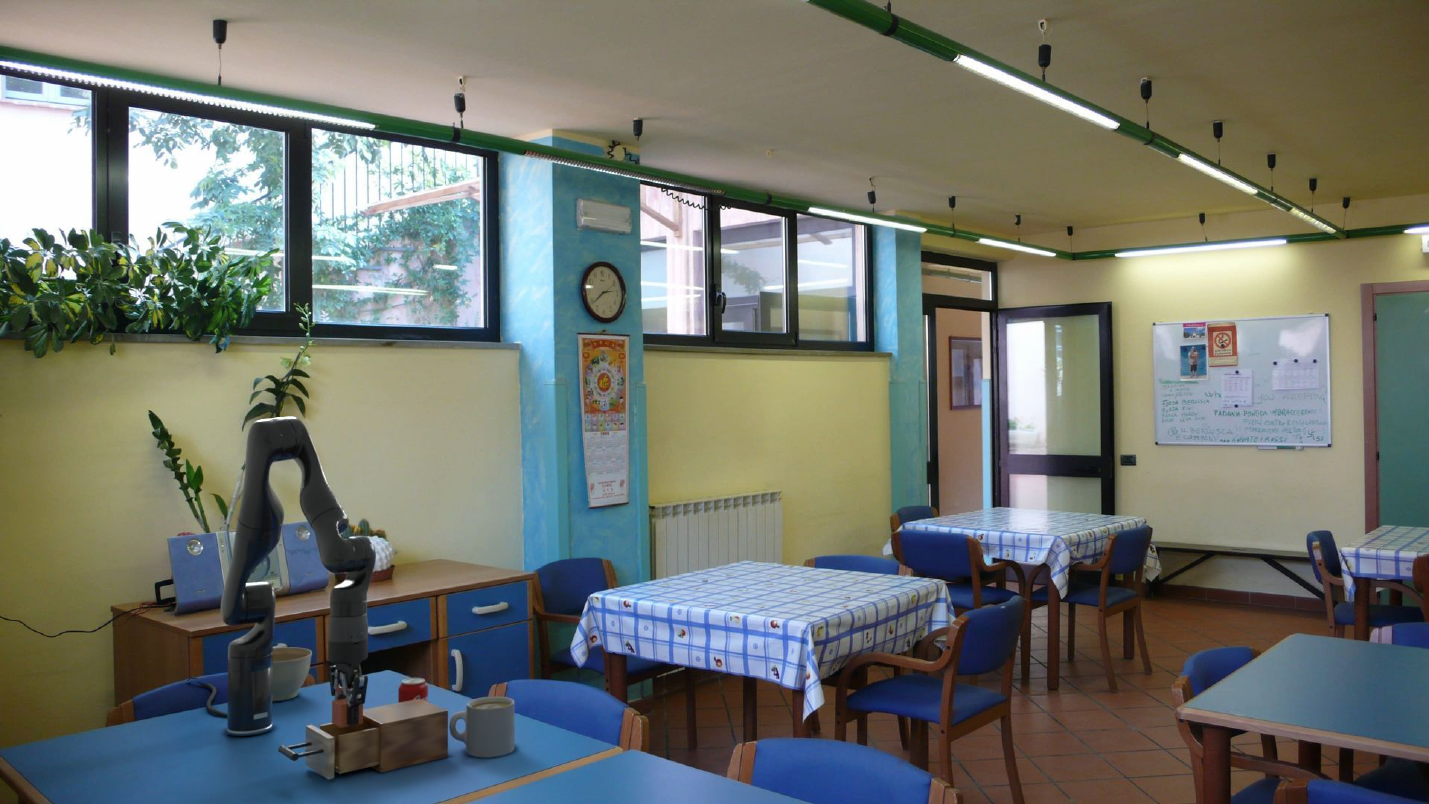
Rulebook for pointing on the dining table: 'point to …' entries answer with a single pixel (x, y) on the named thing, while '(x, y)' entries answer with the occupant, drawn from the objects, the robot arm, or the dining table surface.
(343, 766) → the drawer
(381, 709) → the cabinet
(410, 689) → the beverage can
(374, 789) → the dining table surface
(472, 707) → the coffee mug
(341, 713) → the block
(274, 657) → the planter bowl
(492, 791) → the dining table surface
